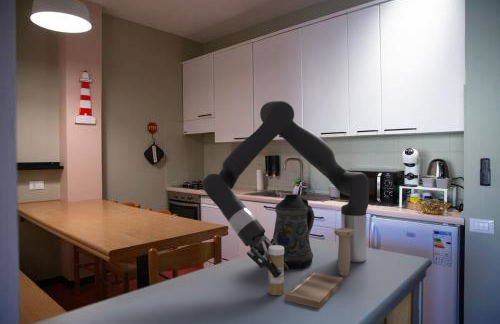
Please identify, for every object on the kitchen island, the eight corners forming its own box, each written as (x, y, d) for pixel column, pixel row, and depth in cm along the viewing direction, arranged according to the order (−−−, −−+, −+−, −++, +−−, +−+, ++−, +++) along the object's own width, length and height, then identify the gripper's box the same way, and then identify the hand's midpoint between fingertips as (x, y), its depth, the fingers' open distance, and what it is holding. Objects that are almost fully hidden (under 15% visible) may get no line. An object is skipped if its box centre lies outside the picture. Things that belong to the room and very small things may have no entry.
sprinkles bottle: (275, 297, 95) (275, 250, 94) (265, 292, 98) (265, 246, 98) (287, 293, 97) (287, 247, 97) (277, 288, 101) (276, 243, 101)
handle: (356, 275, 111) (356, 230, 111) (339, 278, 109) (339, 232, 109) (347, 271, 116) (347, 227, 115) (331, 273, 114) (331, 229, 113)
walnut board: (312, 277, 110) (312, 271, 110) (342, 283, 104) (342, 277, 104) (285, 299, 93) (285, 293, 93) (319, 308, 88) (319, 301, 88)
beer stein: (262, 266, 121) (261, 197, 121) (278, 251, 139) (278, 191, 138) (307, 272, 115) (307, 199, 114) (318, 256, 133) (318, 193, 132)
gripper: (240, 223, 95) (279, 273, 89) (265, 215, 107) (301, 259, 101) (225, 239, 98) (262, 289, 92) (251, 229, 110) (285, 273, 104)
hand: (282, 273), depth 97 cm, fingers closed on sprinkles bottle, 4 cm apart
